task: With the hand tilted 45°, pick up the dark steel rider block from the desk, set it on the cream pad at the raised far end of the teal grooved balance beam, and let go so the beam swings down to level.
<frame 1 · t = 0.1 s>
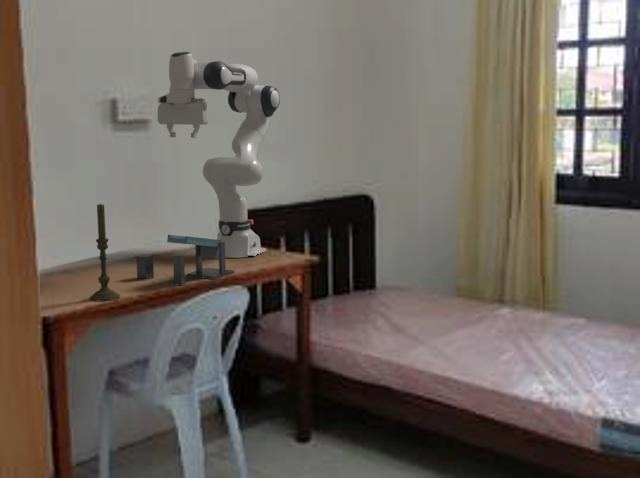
hand: (183, 137, 291), 48 cm above the table, tool pointing down, fingers open, 8 cm apart
beam stand: (210, 274, 288), on the table
candlestick holder: (105, 298, 254), on the table
beam: (197, 247, 279), point 11 cm above the table, hinge at -12.0°
rider: (145, 278, 283), on the table
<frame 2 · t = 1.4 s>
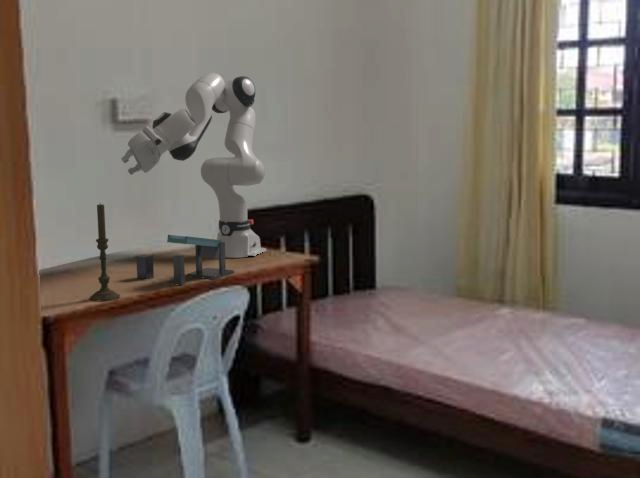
hand: (126, 167, 287), 38 cm above the table, tool tilted 55°, fingers open, 8 cm apart
nothing on the table moved.
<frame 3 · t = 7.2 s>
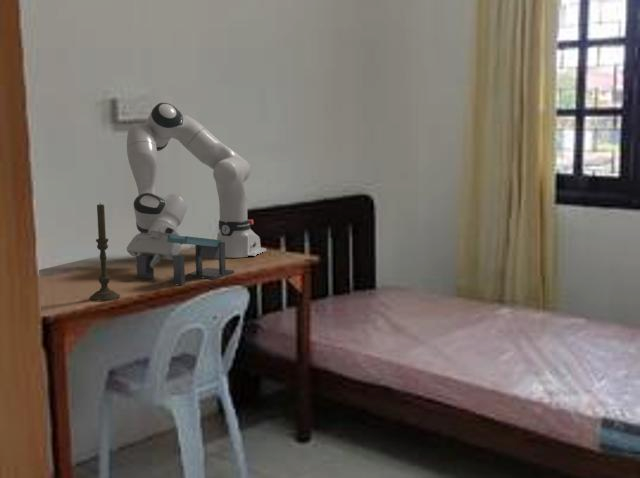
hand: (143, 266, 281), 4 cm above the table, tool tilted 45°, fingers closed on rider, 4 cm apart
rider: (145, 278, 283), on the table, touching gripper
everything else where it was.
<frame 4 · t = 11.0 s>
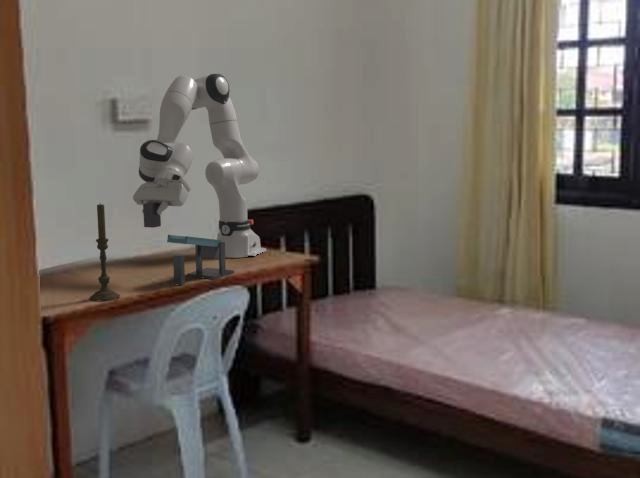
hand: (150, 213, 277), 23 cm above the table, tool tilted 45°, fingers closed on rider, 4 cm apart
rider: (152, 226, 278), point 18 cm above the table, touching gripper
everything else where it was.
when the fingers open (21 cm above the table, at t = 14.8 s): rider moves 2 cm and tips over, resting on beam.
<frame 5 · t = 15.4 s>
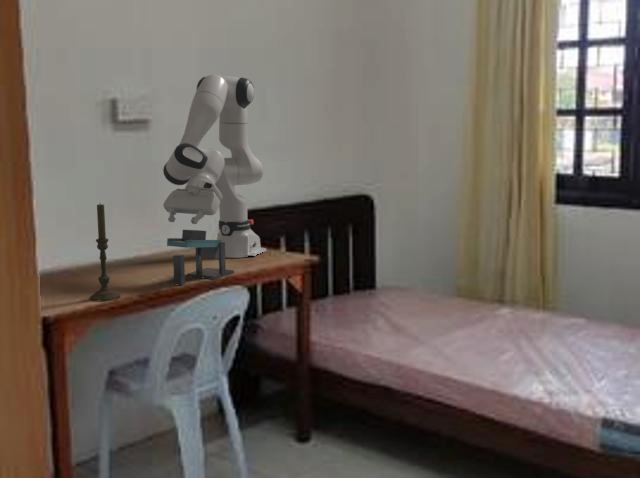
hand: (181, 222, 271), 21 cm above the table, tool tilted 45°, fingers open, 8 cm apart
beam: (197, 248, 280), point 11 cm above the table, hinge at -8.4°, touching rider
rider: (187, 235, 274), point 16 cm above the table, tilted 99°, touching beam
everything else where it was.
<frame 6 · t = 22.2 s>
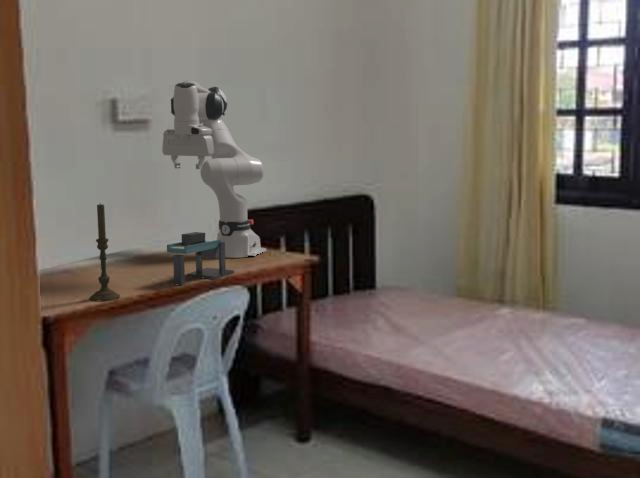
hand: (188, 168, 288), 37 cm above the table, tool pointing down, fingers open, 8 cm apart
beam: (197, 251, 280), point 10 cm above the table, hinge at -1.9°, touching rider
rider: (186, 240, 274), point 14 cm above the table, tilted 93°, touching beam
everything else where it was.
at the end: beam at -2° (first picture: -12°); rider inside the target area on the beam (1.0 cm from its centre), point 3.3 cm above the beam's base; the gripper is holding nothing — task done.
